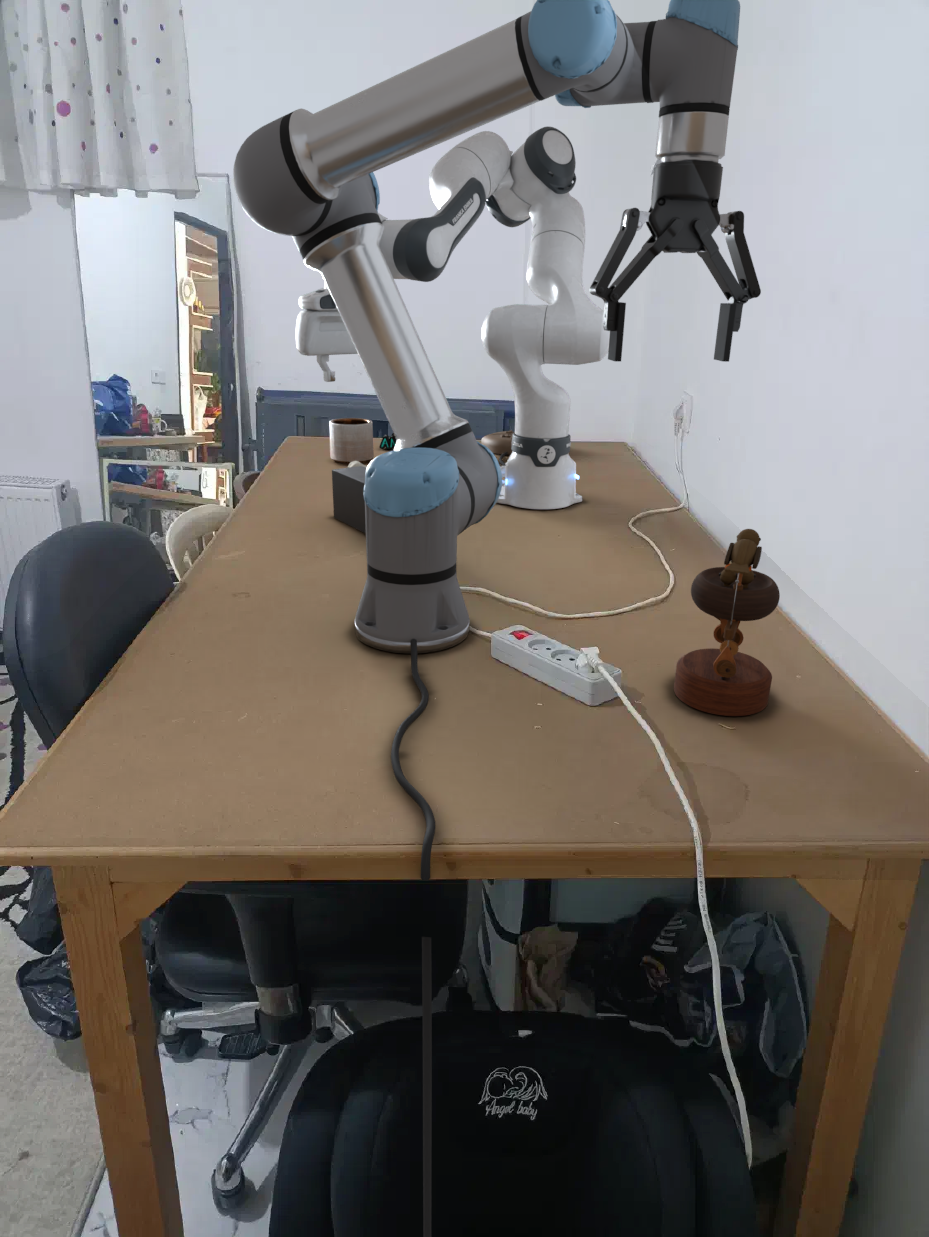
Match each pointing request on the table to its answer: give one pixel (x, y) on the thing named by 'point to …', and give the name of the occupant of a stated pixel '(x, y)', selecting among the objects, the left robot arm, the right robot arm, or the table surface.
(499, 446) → the brown rounded flat piece
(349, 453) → the planter
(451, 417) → the left robot arm
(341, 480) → the box
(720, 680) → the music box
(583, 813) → the table surface
